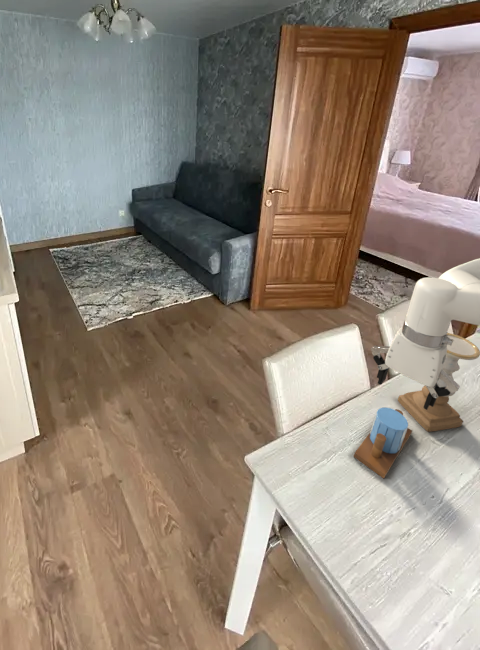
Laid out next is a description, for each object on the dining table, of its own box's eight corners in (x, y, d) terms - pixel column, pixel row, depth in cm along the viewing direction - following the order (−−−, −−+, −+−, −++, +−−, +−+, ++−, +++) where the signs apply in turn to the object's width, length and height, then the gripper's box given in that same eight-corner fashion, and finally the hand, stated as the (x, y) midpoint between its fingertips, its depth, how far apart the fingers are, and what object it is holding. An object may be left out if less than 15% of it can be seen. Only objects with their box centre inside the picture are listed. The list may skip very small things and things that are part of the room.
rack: (382, 417, 96) (389, 397, 93) (410, 434, 91) (418, 413, 88) (353, 457, 85) (359, 435, 82) (383, 479, 80) (391, 456, 77)
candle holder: (428, 395, 103) (453, 329, 94) (462, 426, 93) (494, 355, 84) (396, 399, 101) (419, 332, 92) (427, 432, 91) (456, 360, 82)
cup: (399, 437, 88) (407, 414, 85) (400, 458, 83) (408, 434, 80) (370, 425, 91) (377, 403, 88) (369, 445, 86) (376, 422, 83)
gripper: (477, 345, 71) (452, 407, 77) (386, 310, 83) (371, 366, 89) (468, 362, 66) (442, 426, 73) (373, 322, 78) (358, 380, 85)
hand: (403, 393), depth 81 cm, fingers open, 9 cm apart
